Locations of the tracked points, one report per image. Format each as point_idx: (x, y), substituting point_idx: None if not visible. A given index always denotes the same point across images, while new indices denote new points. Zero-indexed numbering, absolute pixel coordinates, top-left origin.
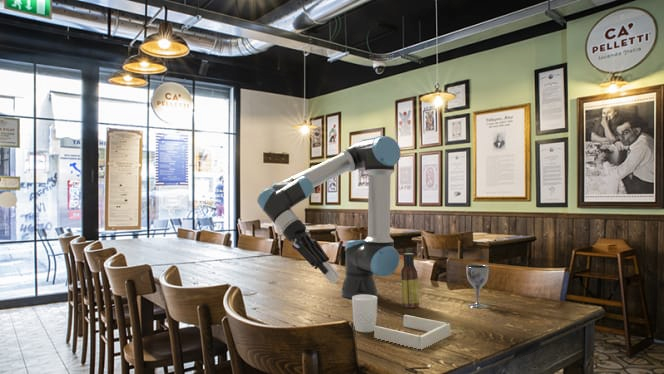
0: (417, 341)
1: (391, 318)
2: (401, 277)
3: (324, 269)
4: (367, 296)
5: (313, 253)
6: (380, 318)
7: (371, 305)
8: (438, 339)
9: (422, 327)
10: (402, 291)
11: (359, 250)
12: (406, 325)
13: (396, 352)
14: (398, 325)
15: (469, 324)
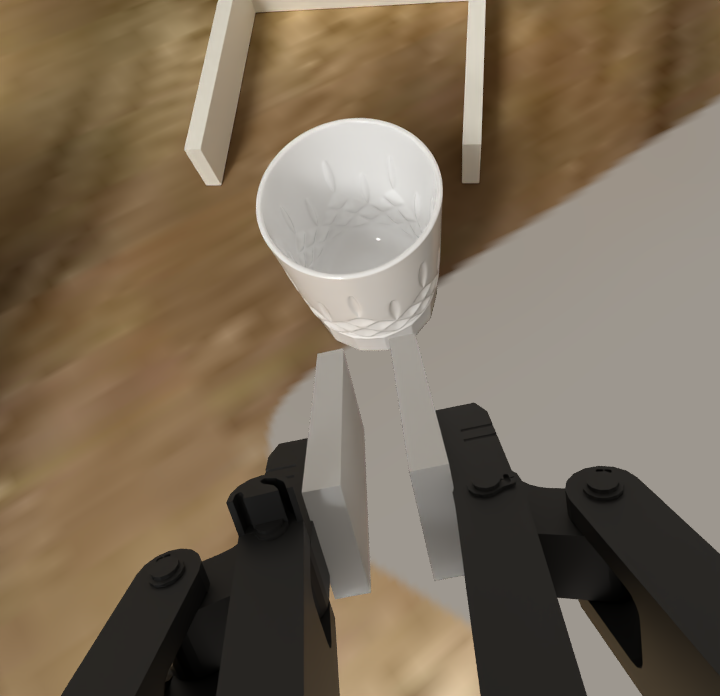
0: None
1: (114, 298)
2: None
3: (492, 430)
4: (268, 229)
5: (572, 662)
6: (142, 343)
7: (391, 149)
8: None
9: (234, 88)
10: None
11: None
12: (222, 165)
13: (572, 35)
14: (218, 210)
15: (57, 18)
